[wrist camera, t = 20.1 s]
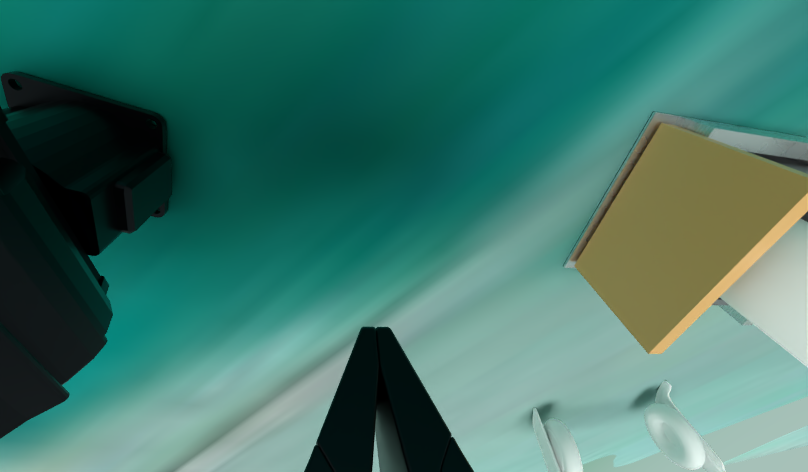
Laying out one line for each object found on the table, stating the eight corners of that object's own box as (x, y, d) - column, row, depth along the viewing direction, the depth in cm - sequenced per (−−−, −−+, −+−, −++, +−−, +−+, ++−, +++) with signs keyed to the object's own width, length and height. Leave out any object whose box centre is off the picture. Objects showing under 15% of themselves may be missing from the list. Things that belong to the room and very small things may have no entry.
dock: (563, 266, 27) (608, 323, 22) (653, 111, 20) (751, 145, 15) (685, 272, 30) (751, 325, 25) (806, 137, 23) (932, 173, 18)
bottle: (638, 217, 23) (869, 389, 13) (725, 163, 21) (1079, 312, 11) (659, 260, 26) (860, 427, 16) (737, 215, 24) (1024, 372, 14)
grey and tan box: (574, 265, 27) (648, 353, 20) (661, 122, 20) (818, 182, 13) (681, 271, 29) (781, 352, 22) (792, 143, 22) (985, 203, 15)
